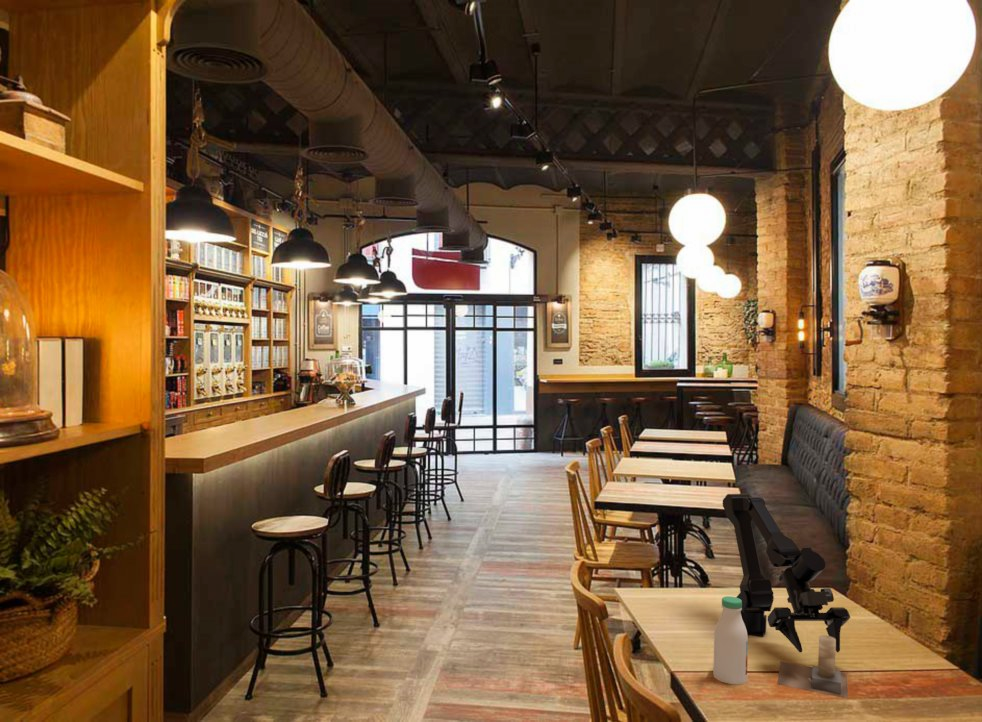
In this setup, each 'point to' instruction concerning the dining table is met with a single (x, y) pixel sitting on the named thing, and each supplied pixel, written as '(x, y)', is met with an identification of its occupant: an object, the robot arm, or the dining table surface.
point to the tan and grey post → (826, 667)
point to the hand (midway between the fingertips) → (819, 651)
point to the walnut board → (805, 679)
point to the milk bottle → (731, 644)
